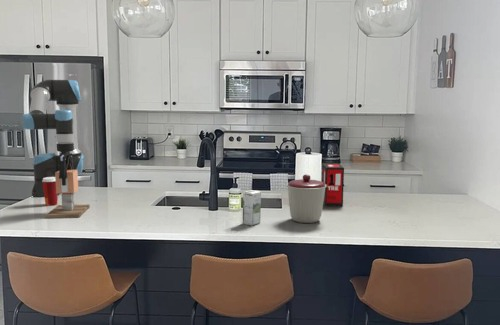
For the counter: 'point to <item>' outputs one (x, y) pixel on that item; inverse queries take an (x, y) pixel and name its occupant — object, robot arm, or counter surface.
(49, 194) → the paper cup
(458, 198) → the counter surface
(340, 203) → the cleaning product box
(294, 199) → the canister
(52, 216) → the wooden base with block
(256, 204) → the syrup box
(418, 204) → the counter surface
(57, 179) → the peach bevelled cube
